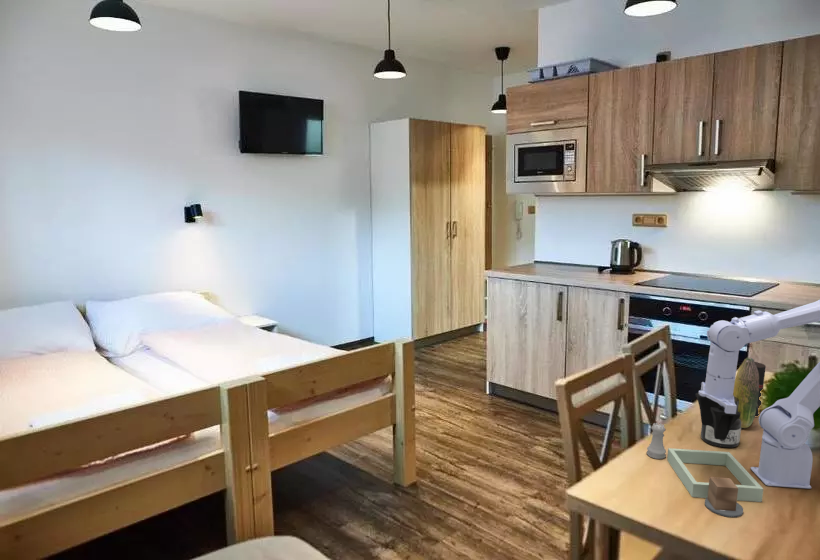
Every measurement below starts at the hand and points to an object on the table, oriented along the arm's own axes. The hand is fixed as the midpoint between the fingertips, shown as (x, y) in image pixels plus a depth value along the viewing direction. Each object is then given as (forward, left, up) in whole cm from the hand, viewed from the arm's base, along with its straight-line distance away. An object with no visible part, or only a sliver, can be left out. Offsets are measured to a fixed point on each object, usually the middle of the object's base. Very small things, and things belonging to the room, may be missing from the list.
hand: (713, 431), depth 131 cm
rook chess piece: (+9, -8, -11) cm, 16 cm away
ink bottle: (-10, -19, -11) cm, 24 cm away
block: (+3, +15, -10) cm, 18 cm away
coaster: (+2, +15, -10) cm, 18 cm away
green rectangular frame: (0, +3, -10) cm, 11 cm away
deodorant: (-26, -40, -11) cm, 49 cm away
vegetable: (-20, -30, -11) cm, 37 cm away
